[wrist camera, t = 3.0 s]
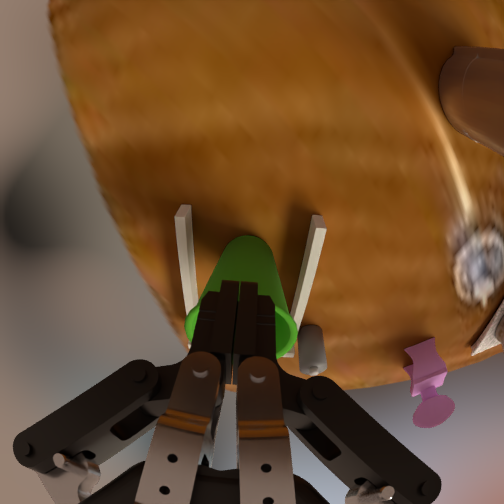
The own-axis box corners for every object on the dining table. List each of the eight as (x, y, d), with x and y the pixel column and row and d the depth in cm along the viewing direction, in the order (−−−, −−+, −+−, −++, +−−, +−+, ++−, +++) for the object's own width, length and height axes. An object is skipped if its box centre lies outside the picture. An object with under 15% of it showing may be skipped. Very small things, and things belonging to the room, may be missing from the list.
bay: (181, 204, 27) (159, 242, 21) (361, 220, 27) (382, 260, 21) (195, 331, 39) (186, 370, 33) (318, 340, 39) (323, 379, 33)
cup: (221, 289, 33) (207, 367, 24) (195, 226, 28) (165, 304, 19) (295, 279, 32) (302, 360, 23) (282, 210, 26) (289, 289, 18)
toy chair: (439, 333, 38) (465, 405, 26) (434, 356, 43) (454, 419, 31) (398, 349, 41) (418, 425, 28) (398, 370, 45) (413, 435, 33)
